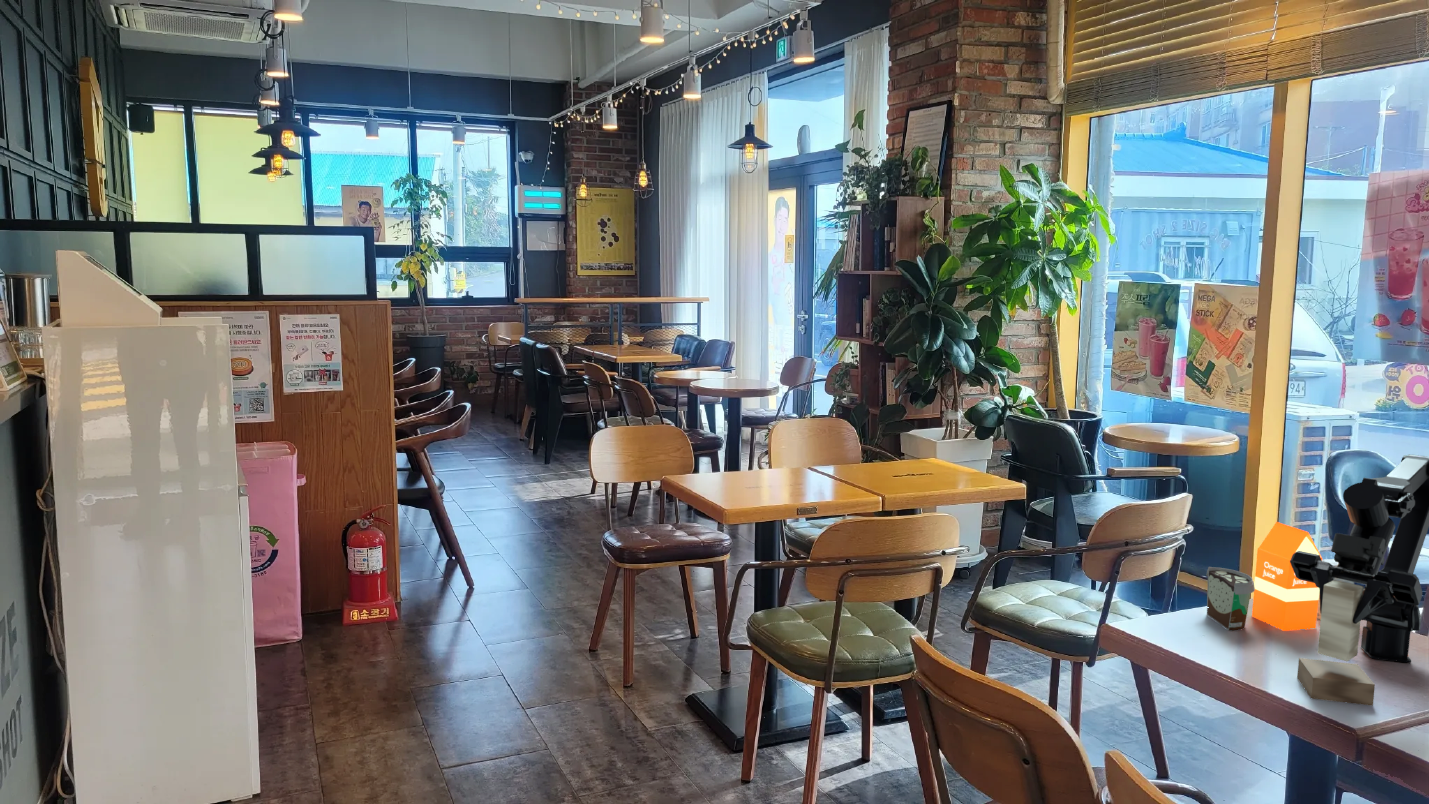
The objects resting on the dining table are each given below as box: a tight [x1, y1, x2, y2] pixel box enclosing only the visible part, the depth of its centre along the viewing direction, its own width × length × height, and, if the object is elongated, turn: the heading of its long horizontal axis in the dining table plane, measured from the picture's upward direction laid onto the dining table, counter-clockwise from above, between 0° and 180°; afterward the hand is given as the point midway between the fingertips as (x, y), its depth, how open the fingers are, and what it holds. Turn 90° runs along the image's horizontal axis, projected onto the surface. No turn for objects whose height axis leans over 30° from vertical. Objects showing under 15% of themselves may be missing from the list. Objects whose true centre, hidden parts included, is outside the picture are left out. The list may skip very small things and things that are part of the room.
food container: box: [1206, 566, 1255, 632], centre depth 203 cm, size 12×6×10 cm, turn 179°
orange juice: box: [1251, 521, 1323, 632], centre depth 203 cm, size 8×9×20 cm
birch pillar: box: [1317, 580, 1365, 662], centre depth 169 cm, size 4×4×12 cm
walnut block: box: [1296, 657, 1376, 707], centre depth 170 cm, size 9×9×4 cm
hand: (1337, 618), depth 168 cm, fingers closed on birch pillar, 4 cm apart
